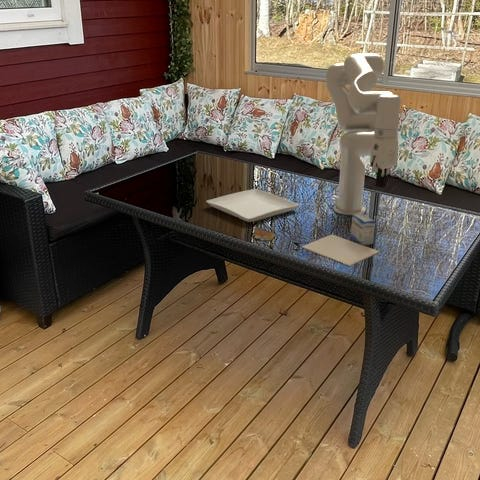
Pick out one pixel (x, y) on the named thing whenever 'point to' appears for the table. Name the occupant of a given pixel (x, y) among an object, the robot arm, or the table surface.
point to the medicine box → (362, 229)
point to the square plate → (252, 204)
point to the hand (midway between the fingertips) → (380, 186)
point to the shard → (263, 234)
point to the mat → (340, 250)
